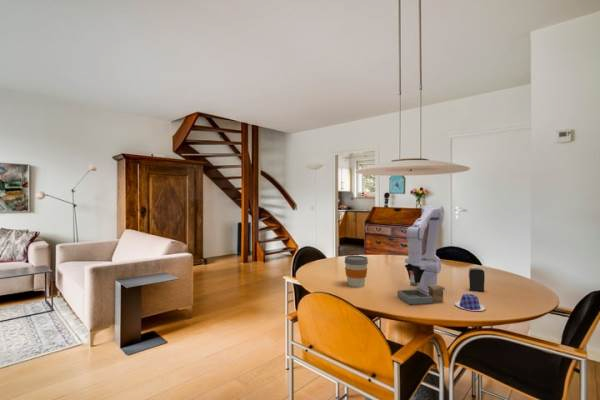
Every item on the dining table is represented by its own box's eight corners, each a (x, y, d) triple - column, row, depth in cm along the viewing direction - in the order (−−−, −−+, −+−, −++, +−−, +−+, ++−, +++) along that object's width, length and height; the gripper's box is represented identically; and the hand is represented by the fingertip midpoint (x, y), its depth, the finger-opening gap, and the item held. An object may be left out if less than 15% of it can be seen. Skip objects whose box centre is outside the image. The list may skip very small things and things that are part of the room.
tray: (397, 296, 147) (397, 290, 147) (418, 295, 149) (418, 289, 149) (410, 305, 135) (410, 298, 135) (432, 303, 137) (432, 297, 137)
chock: (427, 299, 142) (427, 285, 142) (438, 299, 143) (438, 284, 143) (433, 303, 138) (433, 288, 138) (444, 302, 139) (444, 287, 139)
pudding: (472, 302, 140) (472, 290, 140) (492, 311, 128) (492, 299, 128) (448, 303, 138) (448, 291, 138) (466, 313, 127) (466, 300, 126)
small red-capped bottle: (415, 284, 144) (415, 269, 144) (421, 286, 140) (421, 271, 140) (407, 284, 143) (407, 270, 143) (412, 286, 139) (412, 272, 139)
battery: (483, 290, 157) (483, 268, 157) (484, 292, 153) (485, 269, 153) (468, 288, 159) (468, 267, 159) (469, 290, 156) (469, 268, 156)
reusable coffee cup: (367, 288, 159) (368, 260, 159) (343, 287, 161) (344, 259, 161) (367, 282, 171) (367, 255, 171) (345, 280, 174) (345, 255, 174)
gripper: (399, 249, 148) (399, 277, 148) (415, 255, 134) (415, 286, 134) (412, 249, 149) (412, 276, 149) (429, 255, 135) (429, 285, 135)
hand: (414, 281), depth 142 cm, fingers closed on small red-capped bottle, 4 cm apart
